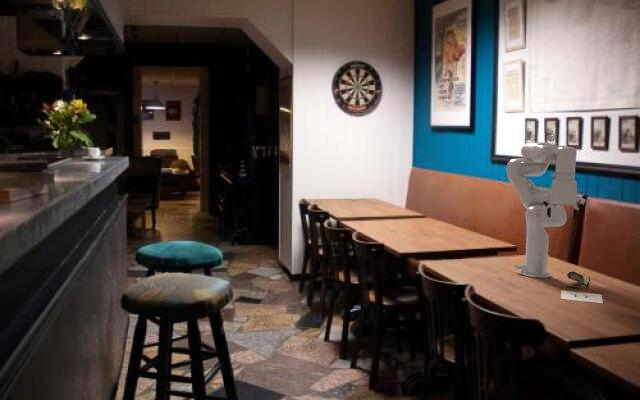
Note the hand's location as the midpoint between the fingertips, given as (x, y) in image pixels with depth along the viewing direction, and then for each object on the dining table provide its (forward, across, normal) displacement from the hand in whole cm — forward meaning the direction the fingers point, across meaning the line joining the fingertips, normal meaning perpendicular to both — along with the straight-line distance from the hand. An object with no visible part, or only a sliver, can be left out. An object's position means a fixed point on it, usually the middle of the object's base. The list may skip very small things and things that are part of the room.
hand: (561, 218), depth 262 cm
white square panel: (+28, +9, -15) cm, 33 cm away
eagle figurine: (+29, +8, 0) cm, 30 cm away
